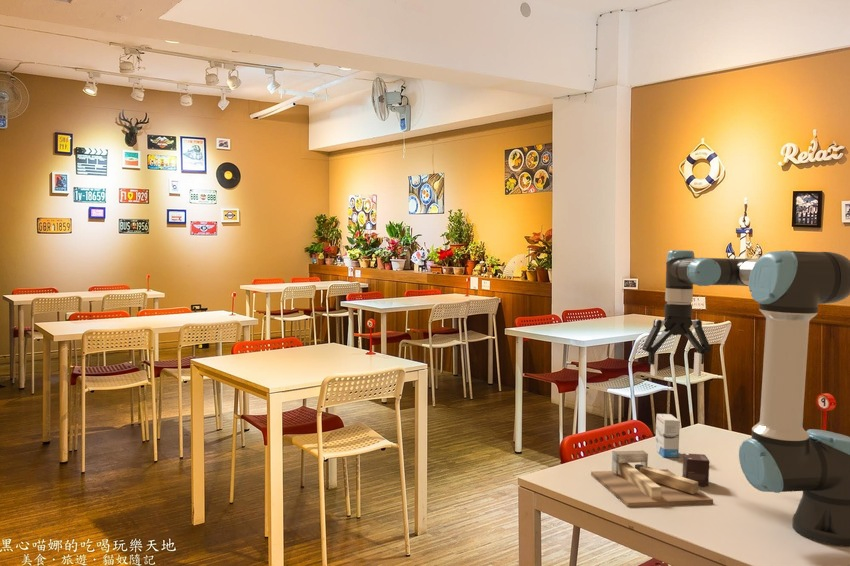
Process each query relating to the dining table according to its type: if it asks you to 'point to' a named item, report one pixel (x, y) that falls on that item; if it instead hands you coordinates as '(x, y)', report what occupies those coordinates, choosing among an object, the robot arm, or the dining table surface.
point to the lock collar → (628, 458)
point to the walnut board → (637, 498)
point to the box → (696, 468)
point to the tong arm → (669, 479)
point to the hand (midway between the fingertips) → (675, 375)
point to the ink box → (667, 435)
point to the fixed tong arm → (640, 480)
